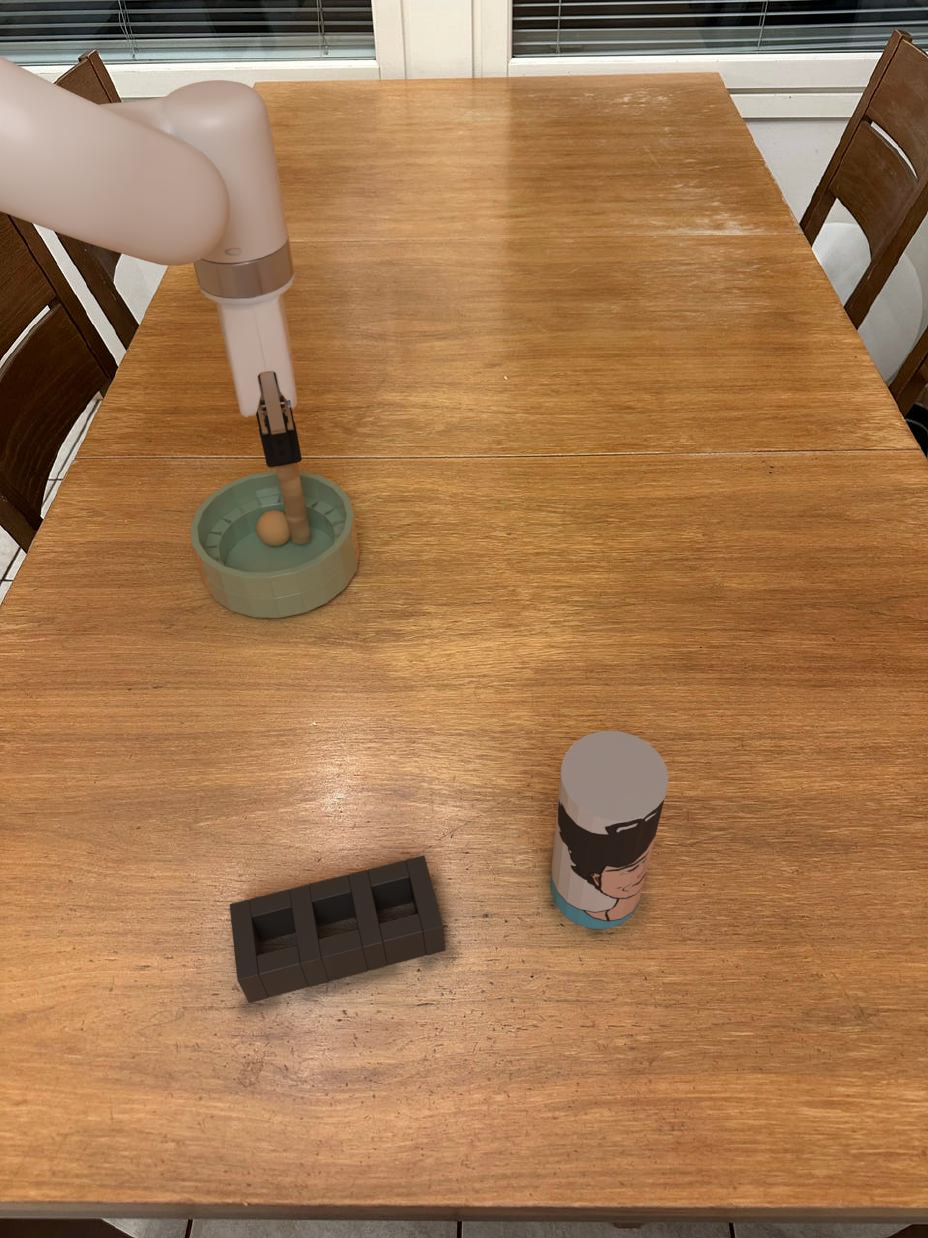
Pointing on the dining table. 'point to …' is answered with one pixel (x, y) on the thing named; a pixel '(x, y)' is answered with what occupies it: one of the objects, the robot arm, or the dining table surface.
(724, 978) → the dining table surface
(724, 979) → the dining table surface
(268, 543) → the dough ball
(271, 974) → the holder
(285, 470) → the stick
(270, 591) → the bowl
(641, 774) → the printed cylindrical canister
